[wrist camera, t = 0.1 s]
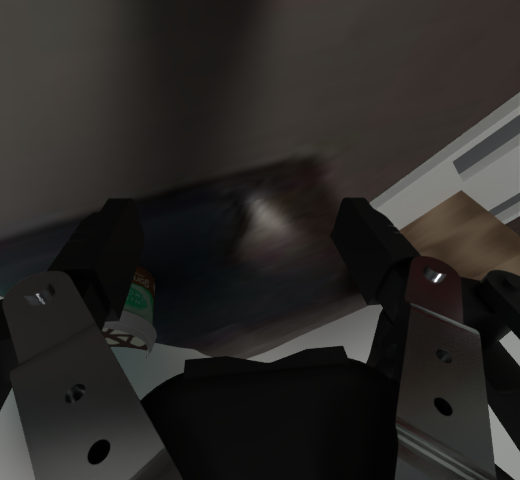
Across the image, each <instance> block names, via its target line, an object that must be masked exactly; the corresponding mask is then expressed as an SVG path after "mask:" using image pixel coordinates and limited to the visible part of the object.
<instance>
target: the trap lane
mask: <svg viewBox="0 0 520 480" xmlns="http://www.w3.org/2000/svg"><path fill="white" fill-rule="evenodd" d="M461 190H462V191H463V192H464V193H466V194H467V195H468V196H470V197H471V198H472V199H473V200H475V201H476V202H477V203H478V204H480V205H481V206H482V207H483V208H485V209H486V210H487V211H488V212H490V213H491V214H492V215H493V216H495V217H496V218H497V219H499V220H500V221H501V222H502V223H504V224H506V223H508V222H510V221H511V220H513V219H515V218H517V217H519V216H520V92H519V93H518V94H516V95H515V96H514V97H512V98H511V99H510V100H508V101H507V102H506V103H504V104H503V105H502V106H500V107H499V108H497V109H496V110H495V111H493V112H492V113H491V114H489V115H488V116H487V117H485V118H484V119H483V120H481V121H480V122H479V123H477V124H476V125H474V126H473V127H472V128H470V129H469V130H468V131H466V132H465V133H464V134H462V135H461V136H460V137H458V138H457V139H455V140H454V141H453V142H451V143H450V144H449V145H447V146H446V147H445V148H443V149H442V150H441V151H439V152H438V153H437V154H435V155H434V156H432V157H431V158H430V159H428V160H427V161H426V162H424V163H423V164H422V165H420V166H419V167H418V168H416V169H415V170H413V171H412V172H411V173H409V174H408V175H407V176H405V177H404V178H403V179H401V180H400V181H399V182H397V183H396V184H395V185H393V186H392V187H390V188H389V189H388V190H386V191H385V192H384V193H382V194H381V195H380V196H378V197H377V198H376V199H374V200H373V201H372V202H370V203H369V204H370V205H371V206H372V207H373V208H374V209H375V210H377V211H379V212H380V213H382V214H383V215H385V216H387V217H388V219H389V220H390V221H391V222H392V223H393V224H394V227H396V228H397V229H398V230H401V229H402V228H404V227H405V226H407V225H408V224H410V223H411V222H413V221H414V220H416V219H417V218H419V217H421V216H422V215H424V214H425V213H427V212H428V211H430V210H431V209H433V208H434V207H436V206H437V205H439V204H441V203H442V202H444V201H445V200H447V199H448V198H450V197H451V196H453V195H454V194H456V193H458V192H459V191H461Z"/></svg>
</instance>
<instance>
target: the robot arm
mask: <svg viewBox="0 0 520 480" xmlns="http://www.w3.org/2000/svg"><path fill="white" fill-rule="evenodd" d="M333 241H334V244H335V246H336V247H337V249H338V251H339V253H340V255H341V257H342V259H343V260H344V262H345V264H346V266H347V268H348V270H349V272H350V273H351V275H352V277H353V279H354V281H355V283H356V285H357V286H358V288H359V290H360V292H361V294H362V296H363V298H364V300H365V301H366V303H367V305H377V304H378V305H379V304H381V306H382V307H383V309H382V311H381V313H380V316H379V320H378V324H377V328H376V332H375V336H374V340H373V343H372V347H371V352H370V355H369V358H368V360H367V363H366V364H365V363H363V362H361V361H357V360H354V359H350V358H348V357H347V355H346V352H345V350H344V347H343V346H336V347H326V348H314V349H306V350H303V351H300V352H298V353H296V354H292V355H290V356H287V357H285V358H282V359H279V360H277V361H274V362H271V363H264V362H258V361H251V360H246V359H240V358H234V357H228V356H224V357H212V358H202V359H190V360H185V367H184V373H181V374H179V375H176V376H174V377H172V378H170V379H168V380H166V381H165V382H163V383H162V384H160V385H159V386H157V387H156V388H154V389H153V390H152V391H151V392H149V393H148V394H147V395H146V396H145V397H144V398H143V399H142V400H141V401H140V399H139V398H138V396H137V394H136V392H135V390H134V389H133V387H132V385H131V383H130V382H129V380H128V378H127V376H126V375H125V373H124V371H123V369H122V368H121V366H120V364H119V362H118V361H117V359H116V357H115V355H114V353H113V352H112V350H111V348H110V346H109V344H108V343H107V341H106V339H105V337H104V336H103V334H102V330H103V327H104V324H105V322H111V321H119V320H120V317H121V314H122V311H123V308H124V305H125V302H126V299H127V296H128V293H129V290H130V287H131V284H132V281H133V278H134V275H135V272H136V269H137V266H138V263H139V260H140V257H141V254H142V251H143V248H144V233H143V229H142V226H141V222H140V218H139V215H138V211H137V207H136V204H135V201H134V200H133V199H132V198H113V199H108V200H107V202H106V203H105V205H104V207H103V208H102V210H101V211H100V212H97V213H93V214H91V215H90V216H88V217H87V218H85V219H84V220H83V221H81V223H80V224H79V226H78V227H77V229H76V230H75V233H73V234H72V236H71V237H70V239H69V242H67V243H66V244H65V246H64V247H63V249H62V250H61V251H60V253H59V254H58V256H57V257H56V259H55V260H54V262H53V263H52V264H51V266H50V267H49V269H48V270H47V272H42V273H38V274H35V275H32V276H30V277H28V278H26V279H24V280H22V281H20V282H19V283H17V284H16V285H15V286H13V287H12V288H11V289H10V290H9V291H8V292H7V294H6V295H5V297H4V299H1V300H0V410H1V408H2V406H3V404H4V402H5V400H6V398H7V396H8V395H9V392H10V390H11V389H12V388H13V392H14V396H15V399H16V404H17V408H18V411H19V416H20V420H21V423H22V427H23V431H24V435H25V439H26V443H27V447H28V451H29V455H30V459H31V463H32V467H33V471H34V475H35V479H36V480H514V479H513V478H512V477H510V476H509V475H508V474H507V473H506V472H504V471H503V470H502V469H501V468H500V467H498V466H497V465H496V464H495V463H494V455H493V446H492V437H491V429H490V419H489V410H488V404H489V406H490V407H491V409H492V410H493V412H494V413H495V415H496V416H497V418H498V419H499V421H500V422H501V424H502V425H503V427H504V428H505V430H506V431H507V433H508V434H509V436H510V437H511V439H512V440H513V442H514V443H515V445H516V446H517V448H518V449H519V451H520V366H519V365H518V364H517V363H516V361H515V360H514V359H513V358H512V357H511V355H510V354H509V353H508V352H507V350H506V349H505V348H504V347H503V346H502V344H501V343H500V342H499V340H500V339H501V338H503V337H504V336H505V335H506V334H508V333H509V332H510V331H511V330H512V332H514V334H515V335H516V336H517V337H518V338H519V339H520V276H518V275H516V274H514V273H511V272H507V271H503V270H491V271H489V272H488V273H487V274H486V276H485V277H484V278H483V279H482V280H481V281H480V280H475V279H469V278H464V277H460V276H459V274H458V273H457V272H456V271H455V270H454V269H453V268H452V267H451V266H449V265H448V264H446V263H445V262H443V261H441V260H438V259H436V258H433V257H428V256H421V255H420V253H419V252H418V251H417V250H416V249H415V248H414V247H413V246H412V244H411V243H410V242H409V241H408V240H407V239H406V238H405V237H404V235H403V234H402V233H401V234H400V231H399V230H398V229H397V228H396V227H394V224H393V223H392V222H391V221H390V220H389V219H388V217H387V216H385V215H383V214H382V213H380V212H379V211H377V210H375V209H374V208H373V207H372V206H371V205H370V204H369V202H368V201H367V200H366V199H365V198H344V199H343V200H342V202H341V205H340V208H339V212H338V215H337V218H336V221H335V225H334V228H333Z"/></svg>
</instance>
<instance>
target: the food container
mask: <svg viewBox="0 0 520 480" xmlns="http://www.w3.org/2000/svg"><path fill="white" fill-rule="evenodd" d="M154 295H155V280H154V278H153V276H152V274H151V273H150V272H148V271H147V270H146V269H145V268H143V267H141V266H139V265H138V266H137V269H136V272H135V275H134V278H133V281H132V284H131V287H130V290H129V293H128V296H127V299H126V302H125V305H124V308H123V311H122V314H121V317H120V320H119V321H111V322H105V324H104V327H103V330H102V334H103V336H104V337H105V339H106V341H107V343H108V344H109V346H110V347H129V348H136V349H143V350H146V351H147V354H146V358H147V356H148V355H149V353H150V352H151V350H152V348H153V345H154V343H155V340H156V337H157V334H156V330H155V328H154V327H153V326H152V320H153V308H154Z"/></svg>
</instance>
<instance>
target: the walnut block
mask: <svg viewBox="0 0 520 480" xmlns="http://www.w3.org/2000/svg"><path fill="white" fill-rule="evenodd" d="M399 231H400V234H401V233H402V234H403V235H404V237H405V238H406V239H407V240H408V241H409V242H410V243H411V244H412V246H413V247H414V248H415V249H416V250H417V251H418V252H419V253H420V255H421V256H428V257H433V258H436V259H438V260H441V261H443V262H445V263H446V264H448V265H449V266H451V267H452V268H453V269H454V270H455V271H456V272H457V273H458V274H459V276H460V277H464V278H469V279H475V280H480V281H481V280H482V279H483V278H484V277H485V276H486V274H487V273H488V272H489V271H491V270H503V271H507V272H511V273H514V274H516V275H518V276H520V236H519V235H517V234H516V233H515V232H514V231H512V230H511V229H510V228H509V227H507V226H506V225H505V224H504V223H502V222H501V221H500V220H499V219H497V218H496V217H495V216H493V215H492V214H491V213H490V212H488V211H487V210H486V209H485V208H483V207H482V206H481V205H480V204H478V203H477V202H476V201H475V200H473V199H472V198H471V197H470V196H468V195H467V194H466V193H464V192H463V191H462V190H461V191H459V192H458V193H456V194H454V195H453V196H451V197H450V198H448V199H447V200H445V201H444V202H442V203H441V204H439V205H437V206H436V207H434V208H433V209H431V210H430V211H428V212H427V213H425V214H424V215H422V216H421V217H419V218H417V219H416V220H414V221H413V222H411V223H410V224H408V225H407V226H405V227H404V228H402V229H401V230H399Z"/></svg>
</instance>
